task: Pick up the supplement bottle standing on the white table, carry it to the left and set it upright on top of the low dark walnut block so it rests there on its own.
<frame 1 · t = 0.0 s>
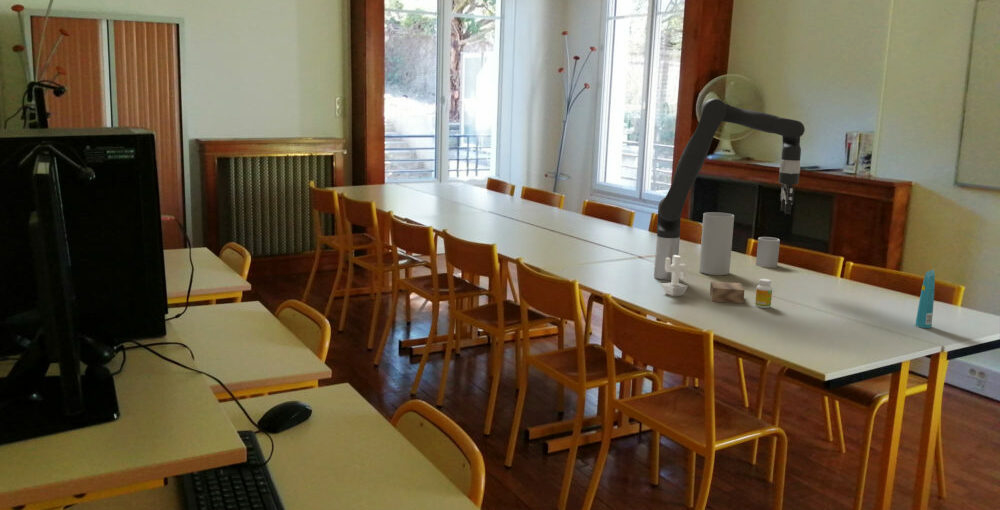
hand: (785, 212, 329), 29 cm above the table, tool pointing down, fingers open, 8 cm apart
tube: (922, 326, 279), on the table
cup: (766, 265, 371), on the table
walnut block: (726, 298, 309), on the table
supplement bottle: (762, 306, 300), on the table
figurine: (674, 294, 314), on the table
cylinder vase: (714, 273, 353), on the table
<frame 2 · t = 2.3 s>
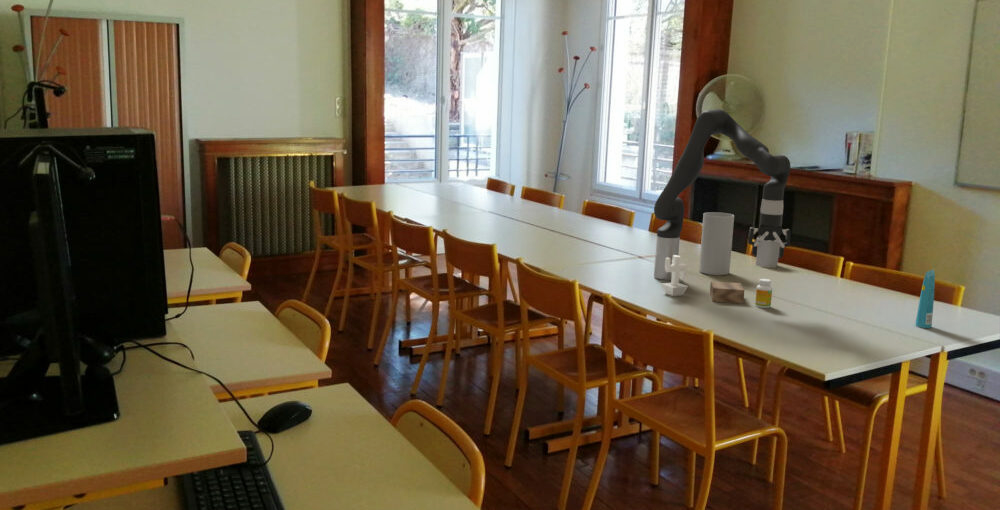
hand: (767, 257, 296), 18 cm above the table, tool pointing down, fingers open, 8 cm apart
nothing on the table moved.
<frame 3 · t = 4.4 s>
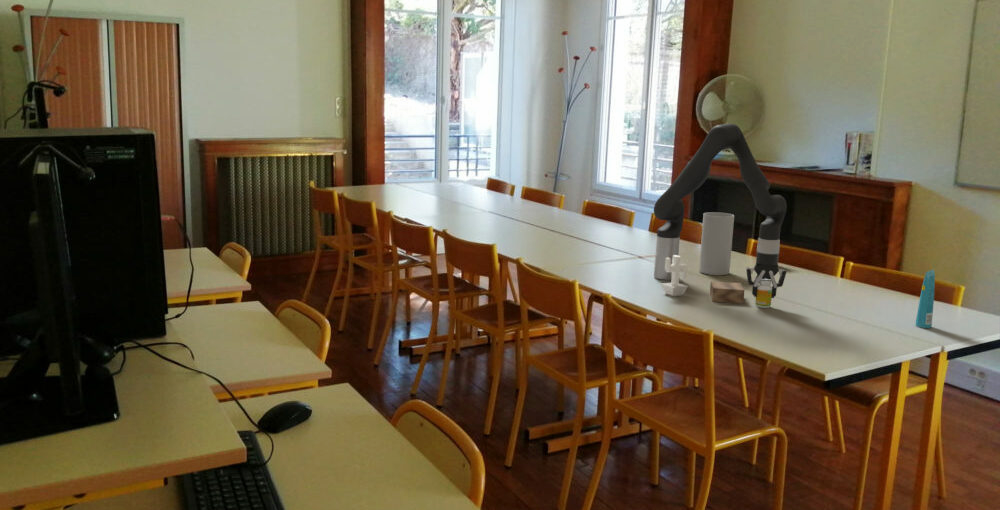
hand: (763, 296, 299), 4 cm above the table, tool pointing down, fingers closed on supplement bottle, 5 cm apart
supplement bottle: (762, 306, 300), on the table, touching gripper
everything else where it was.
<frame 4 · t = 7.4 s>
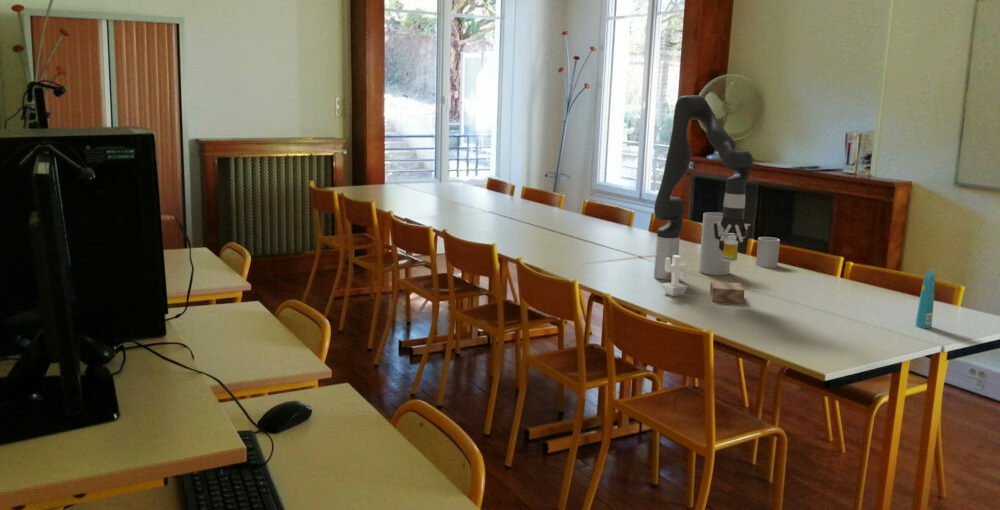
hand: (730, 250, 306), 18 cm above the table, tool pointing down, fingers closed on supplement bottle, 5 cm apart
supplement bottle: (729, 260, 307), point 14 cm above the table, touching gripper
everything else where it was.
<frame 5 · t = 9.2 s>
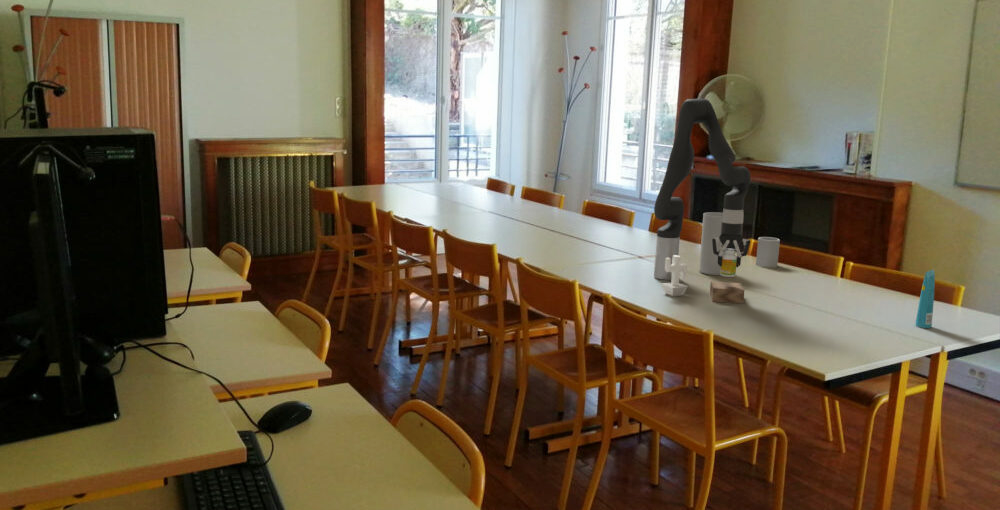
hand: (728, 266, 307), 12 cm above the table, tool pointing down, fingers closed on supplement bottle, 5 cm apart
supplement bottle: (727, 276, 308), point 9 cm above the table, touching gripper
everything else where it was.
when the fingers open (9 cm above the table, at t = 10.5 s): supplement bottle stays where it is, resting on walnut block.
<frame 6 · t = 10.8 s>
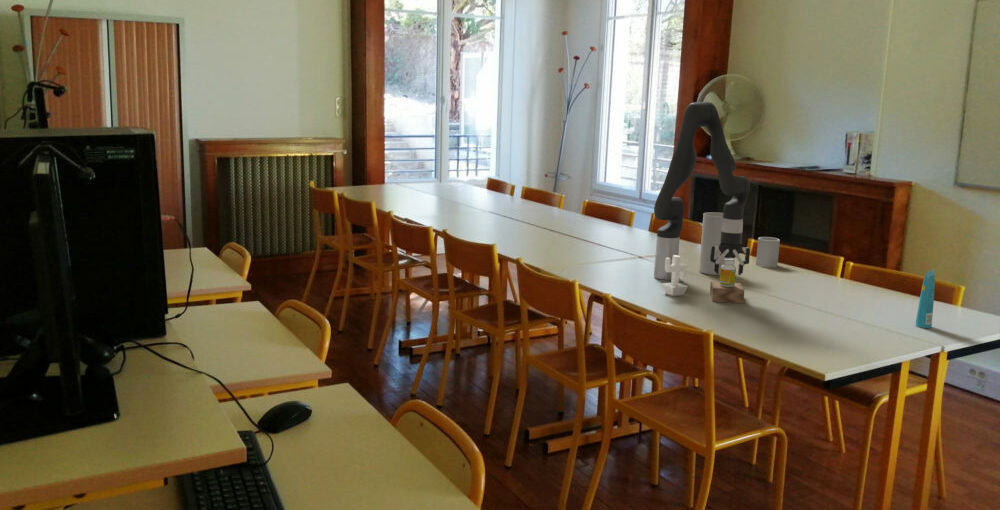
hand: (728, 274, 308), 9 cm above the table, tool pointing down, fingers open, 7 cm apart
supplement bottle: (726, 286, 309), point 5 cm above the table, touching walnut block
everything else where it was.
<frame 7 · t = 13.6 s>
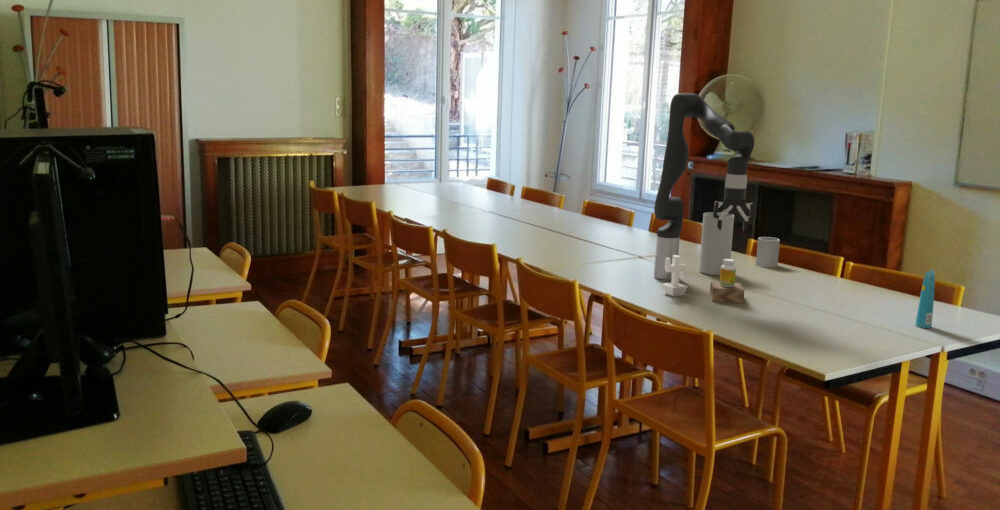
hand: (731, 230, 304), 26 cm above the table, tool pointing down, fingers open, 8 cm apart
nothing on the table moved.
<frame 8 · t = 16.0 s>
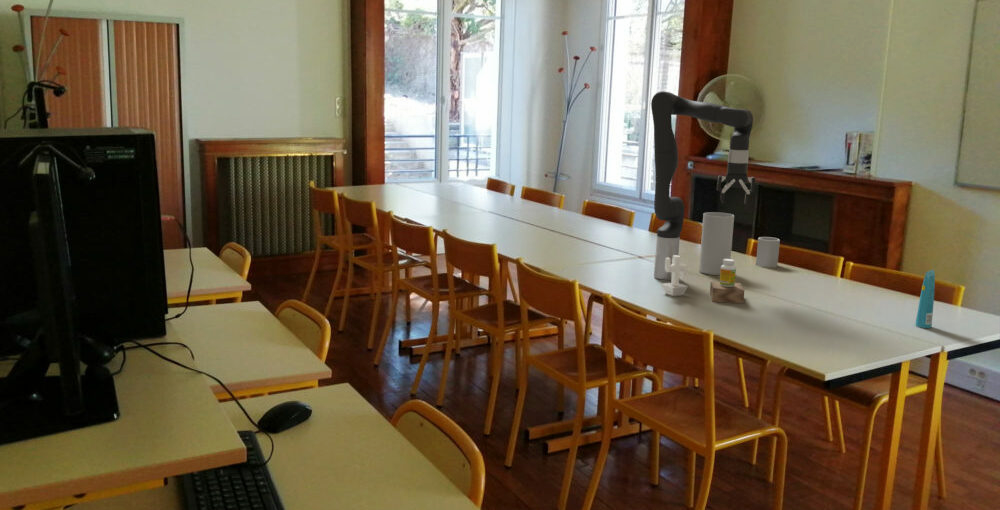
hand: (734, 203, 324), 33 cm above the table, tool pointing down, fingers open, 8 cm apart
nothing on the table moved.
at the end: supplement bottle inside the target area on the walnut block (0.1 cm from its centre), point 4.8 cm above the walnut block's base; supplement bottle tilted 0°; the gripper is holding nothing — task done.
